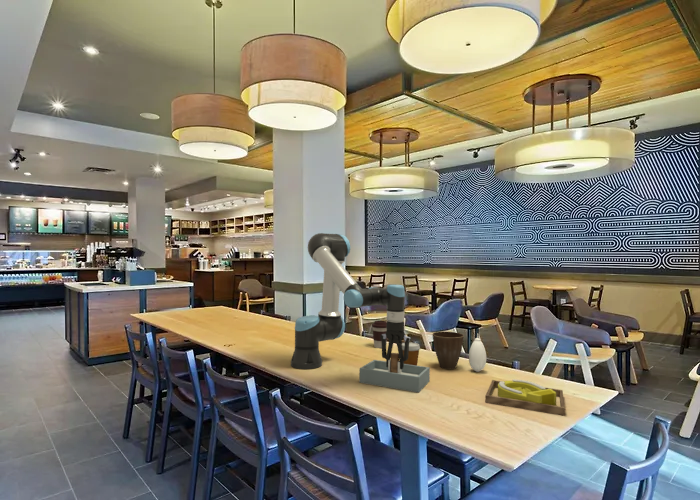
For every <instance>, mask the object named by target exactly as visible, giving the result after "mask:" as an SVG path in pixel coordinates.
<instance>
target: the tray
mask: <svg viewBox="0 0 700 500" xmlns="http://www.w3.org/2000/svg"><path fill="white" fill-rule="evenodd" d="M430 369H431V368H430V366H429V367H428V366H423V365H417V366H416V365H409V364H404V368H403V369H401V374H399V373H392V372H388V367H386V360H378V359H373V360H371V361H369V362H368V363H366V364H365V365H362V366H361V367H359V374H358V375H359V379H358V380H359V381H358V382H359V383H361V384H366V385H372V386H378V387H384V388H391V389H395V390H402V391H408V392H414V393H420V392H421V391H422V390H423V389H424V388H425V387H426V385H428V383H430V378H431V377H430V372H431V370H430Z"/></svg>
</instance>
